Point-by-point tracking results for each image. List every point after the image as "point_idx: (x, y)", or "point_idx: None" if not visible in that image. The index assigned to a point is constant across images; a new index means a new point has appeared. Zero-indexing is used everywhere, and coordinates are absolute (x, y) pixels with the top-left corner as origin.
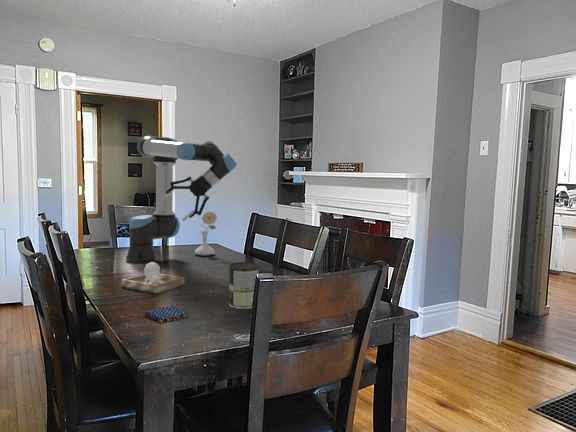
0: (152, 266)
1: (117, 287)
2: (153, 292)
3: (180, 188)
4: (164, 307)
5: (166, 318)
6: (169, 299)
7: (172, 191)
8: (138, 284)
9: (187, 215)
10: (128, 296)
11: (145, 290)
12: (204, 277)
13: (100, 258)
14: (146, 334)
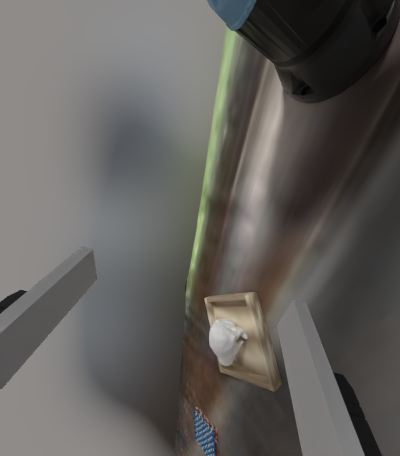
0: (212, 349)
1: (209, 292)
2: None
3: None
4: (207, 427)
5: (200, 443)
6: (229, 404)
7: (13, 370)
8: None
9: (294, 371)
10: (205, 340)
11: None
12: (373, 400)
13: None
14: (186, 436)
